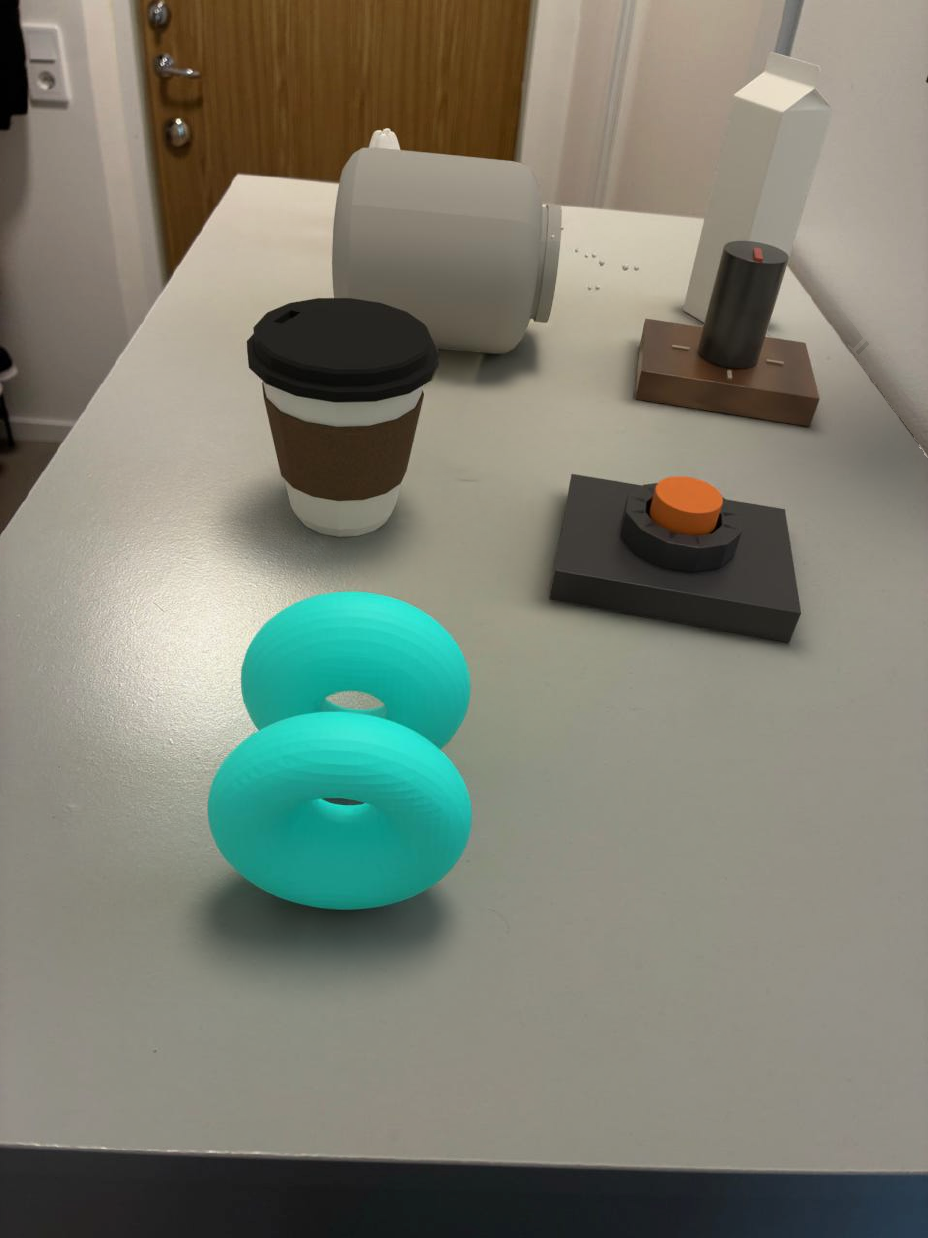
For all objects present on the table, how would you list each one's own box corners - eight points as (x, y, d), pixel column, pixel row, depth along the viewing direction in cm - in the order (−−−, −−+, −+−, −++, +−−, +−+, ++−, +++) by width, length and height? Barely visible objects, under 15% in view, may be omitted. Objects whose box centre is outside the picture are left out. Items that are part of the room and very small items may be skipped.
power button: (714, 506, 58) (722, 481, 57) (716, 542, 55) (724, 517, 54) (650, 495, 59) (656, 471, 58) (648, 531, 56) (654, 505, 55)
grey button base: (775, 536, 63) (793, 485, 60) (789, 642, 55) (811, 587, 52) (566, 501, 64) (575, 449, 62) (548, 599, 56) (559, 544, 53)
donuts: (212, 918, 38) (186, 750, 32) (254, 734, 46) (240, 569, 39) (460, 929, 39) (484, 766, 32) (460, 746, 46) (480, 585, 40)
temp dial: (697, 338, 81) (723, 232, 75) (756, 347, 80) (787, 242, 75) (697, 362, 77) (725, 253, 71) (759, 372, 77) (793, 263, 71)
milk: (722, 335, 89) (794, 67, 74) (681, 310, 93) (741, 50, 78) (770, 326, 91) (848, 65, 77) (728, 302, 95) (794, 49, 81)
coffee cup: (222, 529, 58) (204, 344, 51) (309, 450, 66) (305, 280, 59) (383, 580, 56) (390, 393, 48) (453, 492, 64) (469, 319, 56)
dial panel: (797, 369, 84) (806, 340, 82) (809, 426, 76) (820, 396, 74) (639, 344, 85) (645, 316, 83) (635, 399, 77) (641, 368, 75)
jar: (376, 223, 90) (645, 223, 85) (362, 378, 89) (632, 386, 84) (307, 108, 71) (647, 99, 66) (290, 302, 71) (630, 307, 66)
